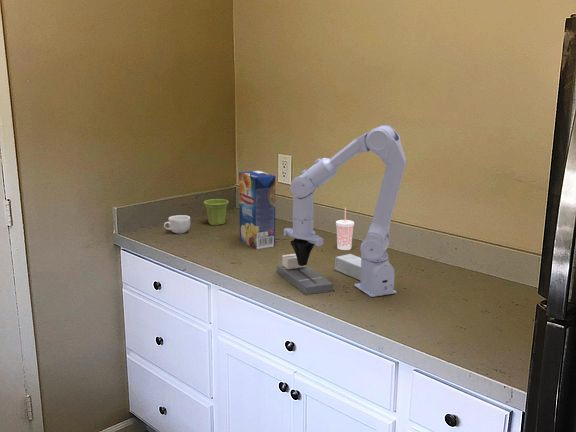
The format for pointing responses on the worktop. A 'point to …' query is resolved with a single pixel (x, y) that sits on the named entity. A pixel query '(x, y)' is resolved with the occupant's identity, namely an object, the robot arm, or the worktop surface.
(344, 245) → the beverage cup
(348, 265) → the skincare box
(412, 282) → the worktop surface
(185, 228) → the teacup
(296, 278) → the mixing panel
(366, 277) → the robot arm
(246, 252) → the worktop surface
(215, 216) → the plant pot
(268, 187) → the juice carton
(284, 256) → the fader
